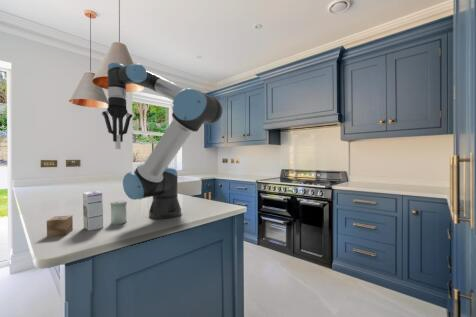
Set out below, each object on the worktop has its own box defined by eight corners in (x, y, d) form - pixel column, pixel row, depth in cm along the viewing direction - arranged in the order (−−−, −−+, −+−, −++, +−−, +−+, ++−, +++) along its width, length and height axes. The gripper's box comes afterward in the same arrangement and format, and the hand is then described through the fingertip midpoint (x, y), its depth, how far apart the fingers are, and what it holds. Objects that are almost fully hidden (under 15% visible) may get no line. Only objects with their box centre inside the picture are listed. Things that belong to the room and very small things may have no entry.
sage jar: (129, 220, 105) (129, 200, 104) (122, 224, 98) (121, 203, 98) (116, 220, 105) (115, 200, 105) (107, 224, 98) (107, 203, 98)
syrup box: (103, 227, 94) (103, 192, 94) (87, 231, 90) (86, 193, 89) (99, 224, 98) (98, 190, 98) (82, 228, 93) (82, 192, 93)
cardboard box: (72, 230, 91) (72, 215, 91) (66, 235, 85) (66, 219, 85) (54, 232, 89) (54, 216, 89) (46, 237, 83) (46, 220, 83)
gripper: (129, 101, 115) (130, 149, 115) (99, 97, 106) (100, 148, 107) (134, 99, 109) (135, 148, 110) (103, 94, 101) (104, 148, 101)
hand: (118, 148), depth 108 cm, fingers closed
